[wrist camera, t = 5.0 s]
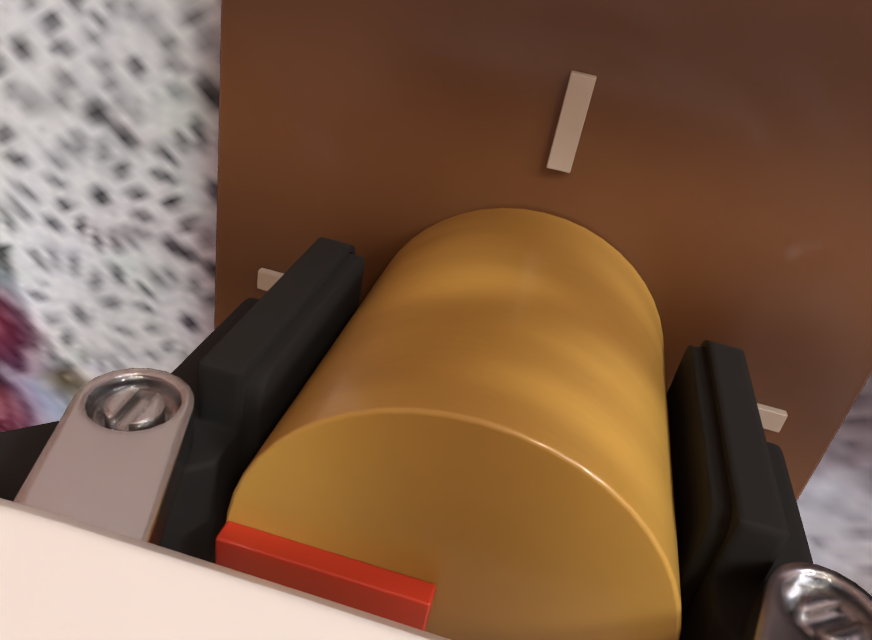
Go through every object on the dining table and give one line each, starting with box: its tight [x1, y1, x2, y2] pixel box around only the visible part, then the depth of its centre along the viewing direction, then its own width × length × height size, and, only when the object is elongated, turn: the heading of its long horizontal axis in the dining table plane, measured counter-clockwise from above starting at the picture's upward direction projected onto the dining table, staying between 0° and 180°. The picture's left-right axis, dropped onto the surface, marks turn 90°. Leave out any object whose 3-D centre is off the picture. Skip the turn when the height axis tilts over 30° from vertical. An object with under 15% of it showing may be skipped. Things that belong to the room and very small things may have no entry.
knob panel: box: [214, 0, 872, 501], centre depth 14 cm, size 14×11×3 cm
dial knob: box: [215, 208, 682, 640], centre depth 10 cm, size 5×5×6 cm
